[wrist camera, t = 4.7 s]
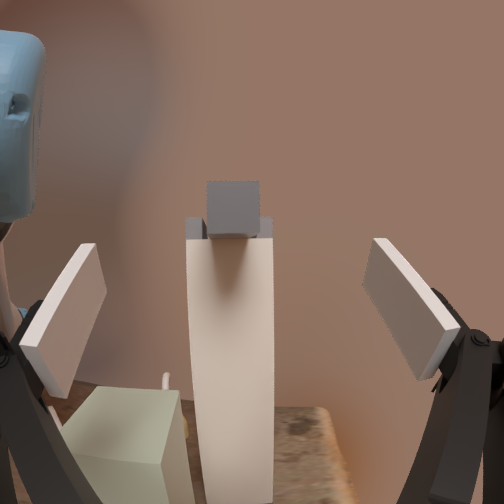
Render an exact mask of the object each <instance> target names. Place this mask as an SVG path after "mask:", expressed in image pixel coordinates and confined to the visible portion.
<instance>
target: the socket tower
mask: <svg viewBox="0 0 504 504" xmlns="http://www.w3.org/2000/svg"><path fill="white" fill-rule="evenodd" d="M207 236H208V235H207V227H206V225H205V223H204V221H203V218H186V261H187V292H188V293H187V294H188V317H189V335H190V351H191V366H192V380H193V392H194V403H195V413H196V423H197V433H198V441H199V450H200V458H201V466H202V474H203V481H204V488H205V495H206V502H207V504H264V503H273V453H274V291H273V289H274V288H273V231H272V217H260V233H259V234H257V235H255V236H253V237H251V238H249V239H208V237H207Z"/></svg>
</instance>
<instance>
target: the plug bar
mask: <svg viewBox="0 0 504 504" xmlns="http://www.w3.org/2000/svg"><path fill="white" fill-rule="evenodd" d="M259 200H260V197H259V181H207V235H208V236H209V238H210V239H249V238H251V237H253V236H255V235H257V234H259V233H260V201H259Z"/></svg>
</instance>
